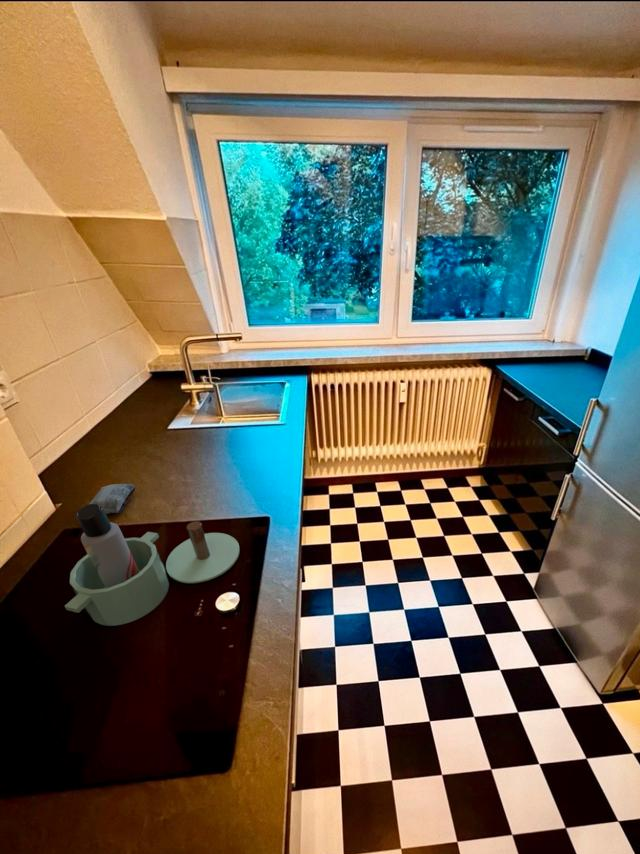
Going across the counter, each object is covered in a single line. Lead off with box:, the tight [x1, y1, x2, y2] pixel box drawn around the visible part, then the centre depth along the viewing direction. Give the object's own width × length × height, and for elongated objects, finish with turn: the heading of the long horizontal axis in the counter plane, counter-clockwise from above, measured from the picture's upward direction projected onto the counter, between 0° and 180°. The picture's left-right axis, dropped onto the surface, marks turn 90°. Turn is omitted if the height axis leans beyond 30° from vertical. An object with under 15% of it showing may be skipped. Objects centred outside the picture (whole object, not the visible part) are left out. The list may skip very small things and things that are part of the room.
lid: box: [165, 520, 241, 584], centre depth 79 cm, size 15×15×9 cm
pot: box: [64, 531, 170, 627], centre depth 71 cm, size 14×19×8 cm
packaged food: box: [88, 483, 136, 515], centre depth 97 cm, size 9×12×5 cm
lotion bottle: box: [75, 503, 139, 588], centre depth 68 cm, size 6×6×20 cm
